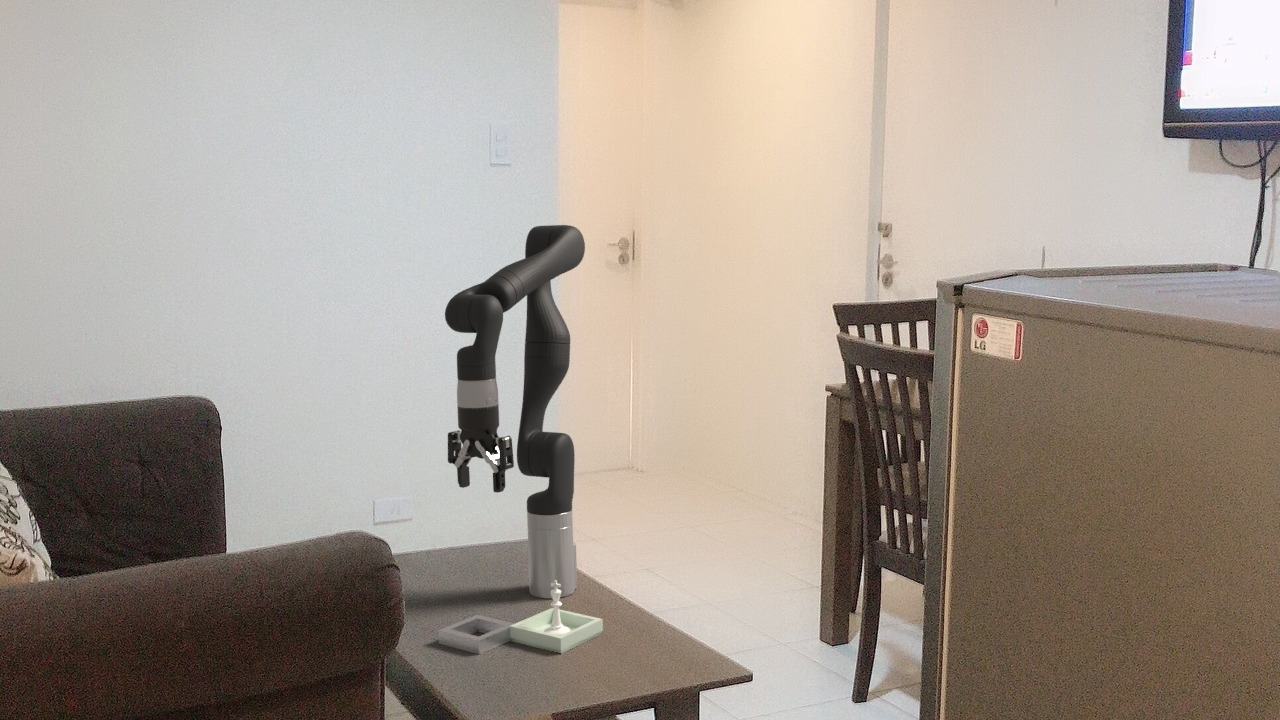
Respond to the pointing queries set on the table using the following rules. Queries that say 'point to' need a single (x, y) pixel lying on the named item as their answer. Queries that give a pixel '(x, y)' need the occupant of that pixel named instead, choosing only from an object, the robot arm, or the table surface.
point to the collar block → (463, 639)
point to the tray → (535, 636)
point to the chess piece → (556, 613)
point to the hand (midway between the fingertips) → (481, 489)
